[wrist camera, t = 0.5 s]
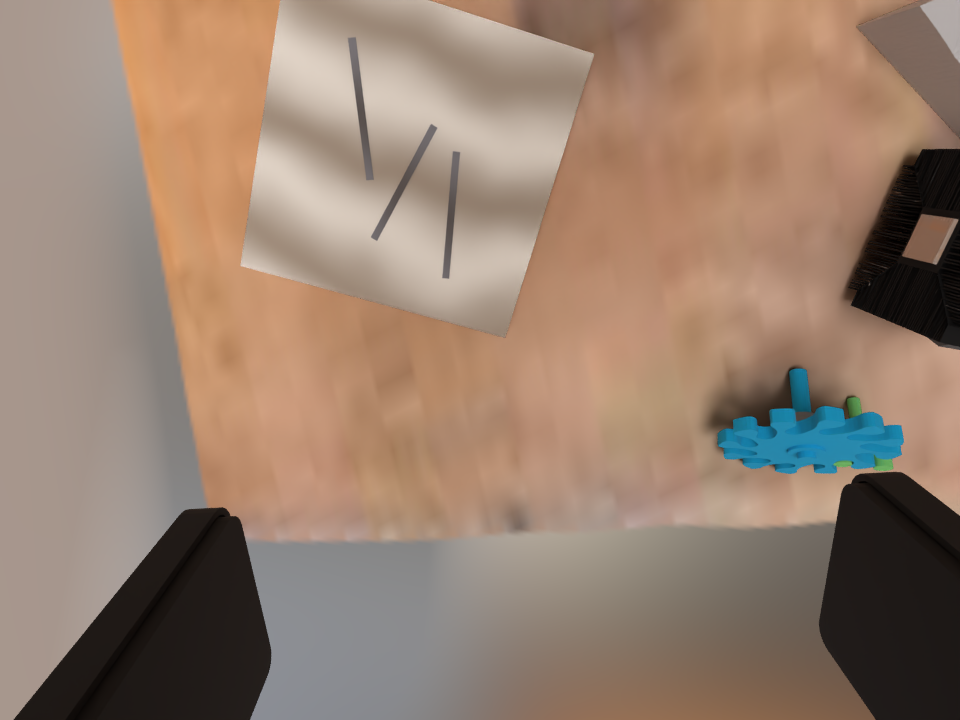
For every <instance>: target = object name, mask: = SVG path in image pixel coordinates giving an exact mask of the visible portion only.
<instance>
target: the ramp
mask: <svg viewBox="0 0 960 720" xmlns="http://www.w3.org/2000/svg"><path fill="white" fill-rule="evenodd" d="M856 27H858V29H859V31H861V32H862V34H864V36H866V38H867V39H868V40H869V41H871V43H872V45H874V46H875V48H877V49H878V51H879V52H880V53H881V54H882V55H883V56H884V58H886V59H887V61H888V62H890V64H891V65H892V66H894V68H895V69H896V71H898V72H899V74H901V75H902V77H904V79H905V80H907V82H908V83H910V85H911V86H912V87H913V88H914V89H915V91H916V92H918V94H919V95H921V97H922V98H923V100H925V101H926V103H927V104H929V106H930V107H931V108H933V110H934V111H935V112H936V113H937V114H938V116H940V117H941V119H942V120H943V121H945V123H946V124H947V125H948V126H949V127H950V128H951V129H952V131H954V132H955V134H956V135H957V136H959V138H960V0H919V1H917V2H914V3H912V4H909V5H906V6H904V7H902V8H899V9H897V10H895V11H892V12H889V13H887V14H884V15H882V16H880V17H877V18H874V19H872V20H870V21H867V22H865V23H863V24H860V25H858V26H856Z"/></svg>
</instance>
